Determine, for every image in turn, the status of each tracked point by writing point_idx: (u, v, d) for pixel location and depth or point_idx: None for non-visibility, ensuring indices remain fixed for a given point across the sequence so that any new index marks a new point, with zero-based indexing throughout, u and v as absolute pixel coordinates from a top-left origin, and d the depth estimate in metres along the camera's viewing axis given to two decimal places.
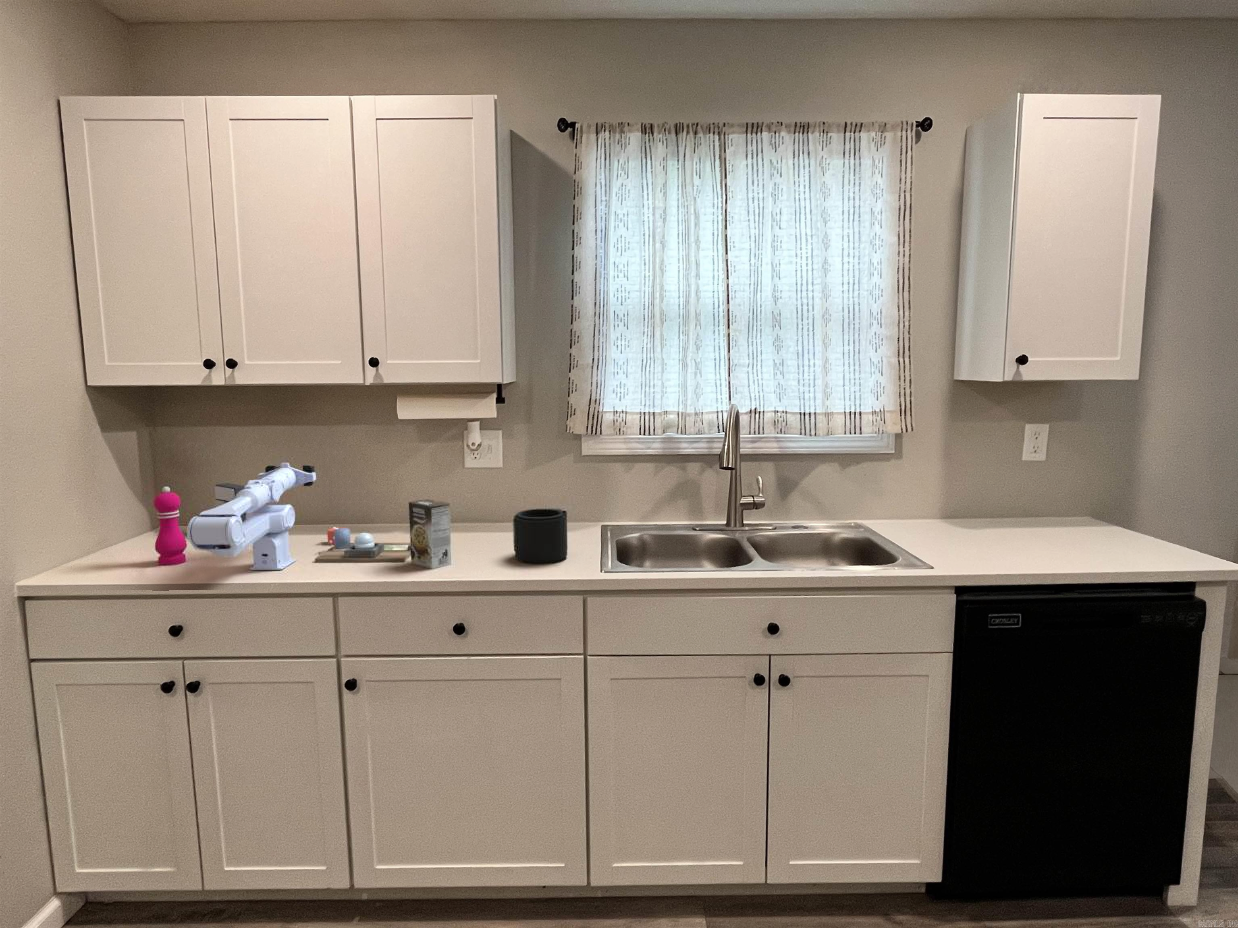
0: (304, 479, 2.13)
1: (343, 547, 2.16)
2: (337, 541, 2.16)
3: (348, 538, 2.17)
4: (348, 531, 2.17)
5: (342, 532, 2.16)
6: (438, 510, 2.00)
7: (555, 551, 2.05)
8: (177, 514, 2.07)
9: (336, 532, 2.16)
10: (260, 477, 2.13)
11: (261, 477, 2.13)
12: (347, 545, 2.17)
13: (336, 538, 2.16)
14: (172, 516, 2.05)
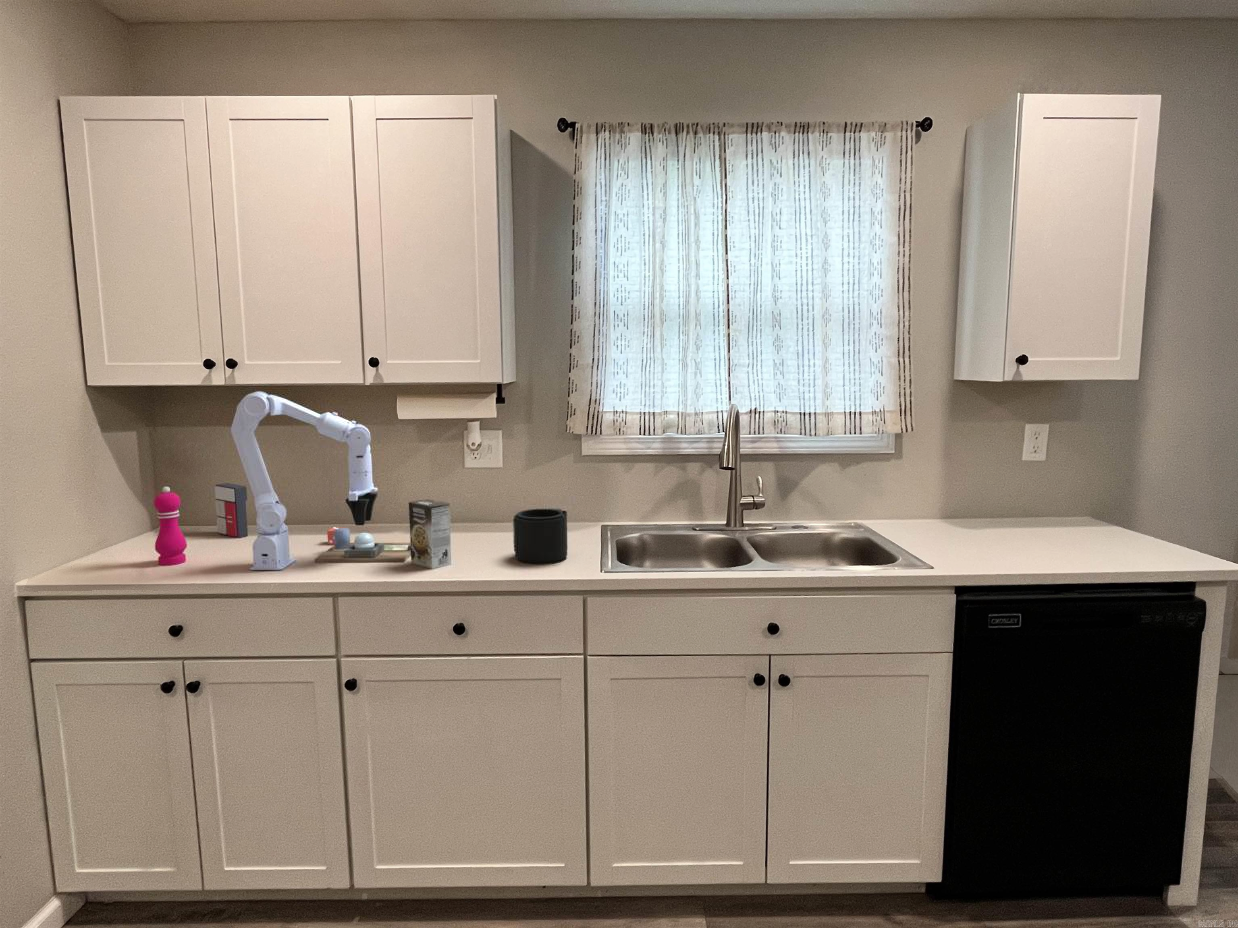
0: (353, 492, 2.05)
1: (343, 547, 2.16)
2: (337, 541, 2.16)
3: (348, 538, 2.17)
4: (348, 531, 2.17)
5: (342, 532, 2.16)
6: (438, 510, 2.00)
7: (555, 551, 2.05)
8: (177, 514, 2.07)
9: (336, 532, 2.16)
10: None
11: None
12: (347, 545, 2.17)
13: (336, 538, 2.16)
14: (172, 516, 2.05)
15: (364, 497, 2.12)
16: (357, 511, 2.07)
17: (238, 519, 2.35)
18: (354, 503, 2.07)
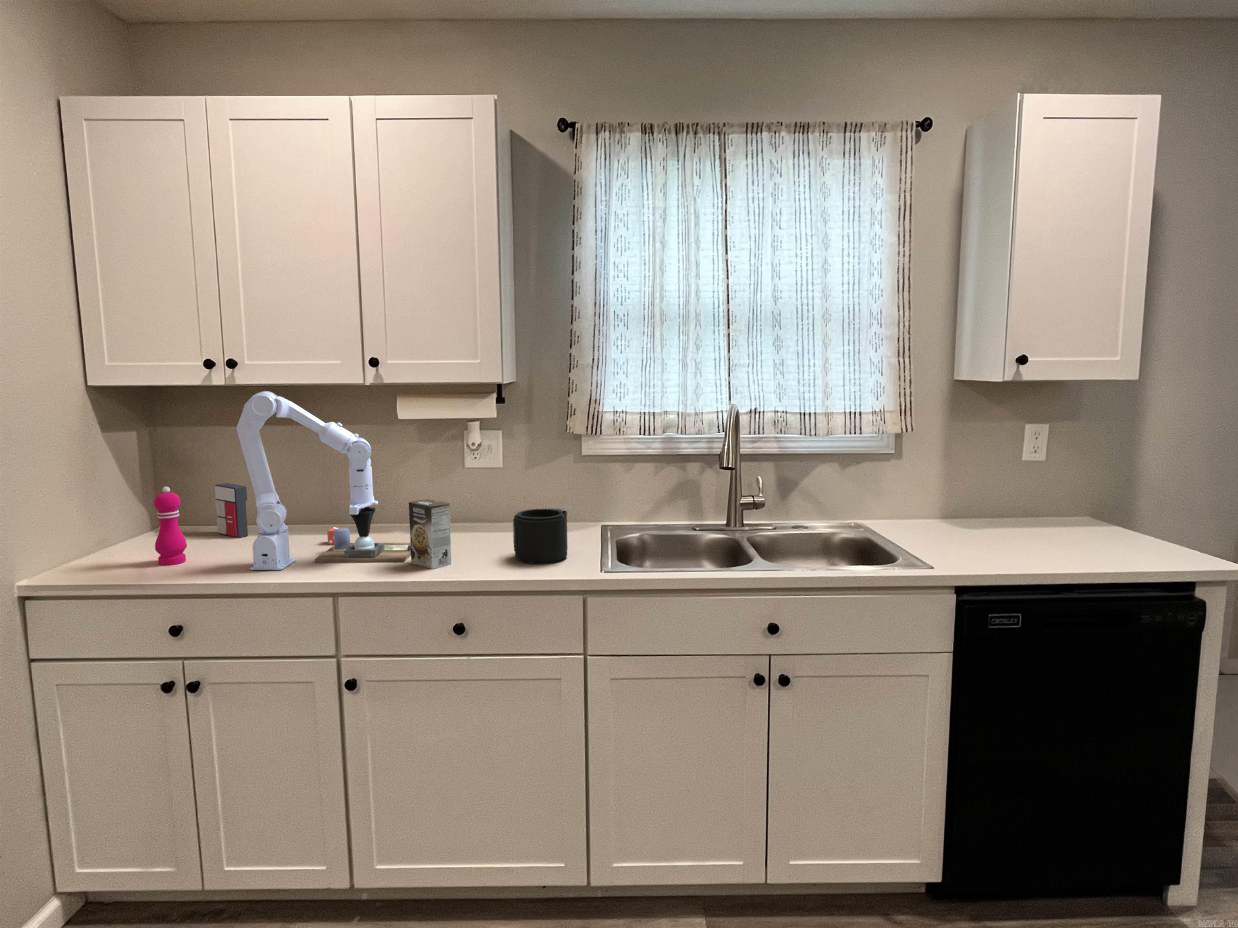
0: (354, 506, 2.05)
1: (343, 547, 2.16)
2: (337, 541, 2.16)
3: (348, 538, 2.17)
4: (348, 531, 2.17)
5: (342, 532, 2.16)
6: (438, 510, 2.00)
7: (555, 551, 2.05)
8: (177, 514, 2.07)
9: (336, 532, 2.16)
10: None
11: None
12: (347, 545, 2.17)
13: (336, 538, 2.16)
14: (172, 516, 2.05)
15: None
16: (361, 522, 2.10)
17: (238, 519, 2.35)
18: (358, 515, 2.10)
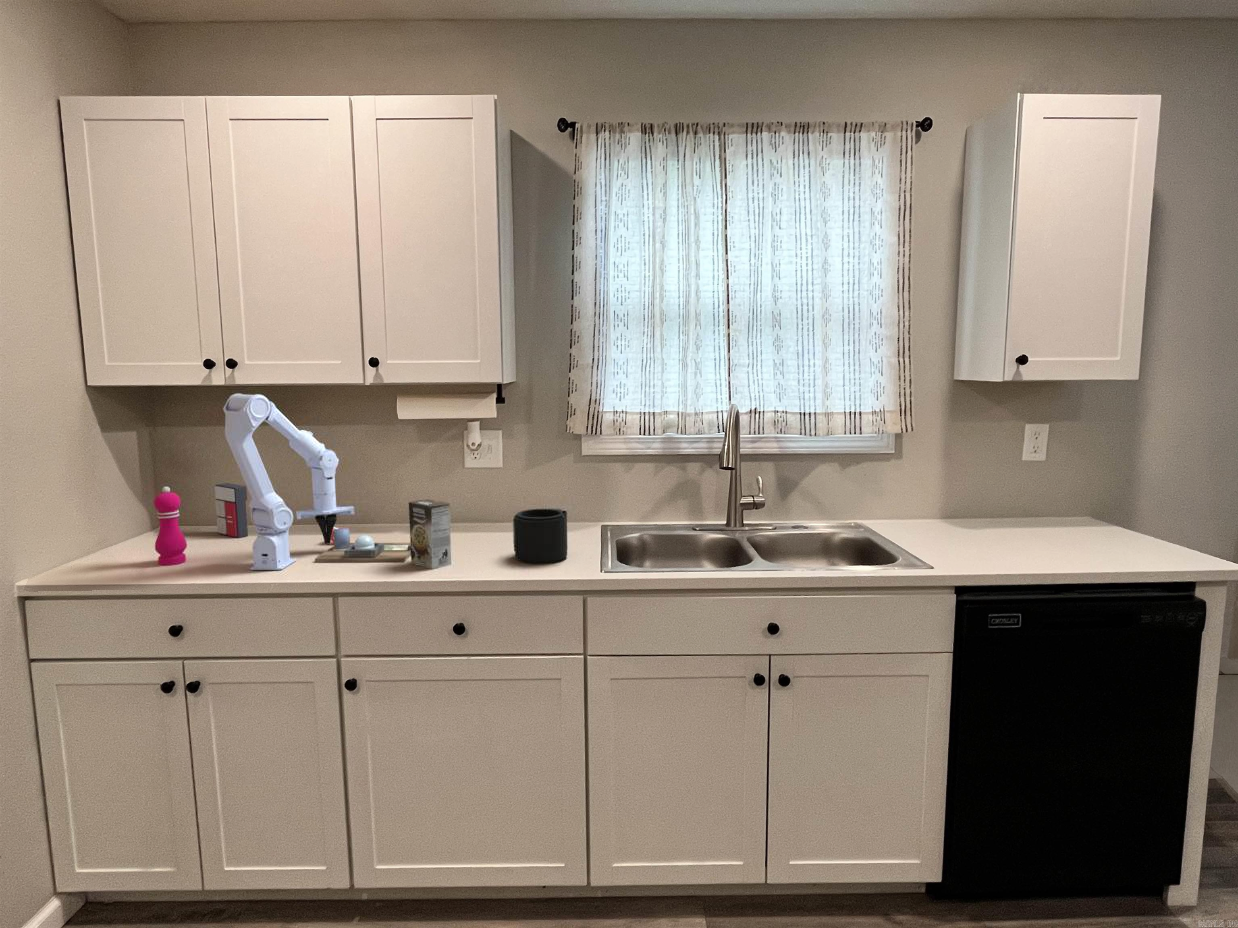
0: (306, 511, 2.15)
1: (343, 547, 2.16)
2: (337, 541, 2.16)
3: (348, 538, 2.17)
4: (348, 531, 2.17)
5: (342, 532, 2.16)
6: (438, 510, 2.00)
7: (555, 551, 2.05)
8: (177, 514, 2.07)
9: (336, 532, 2.16)
10: None
11: (350, 507, 2.20)
12: (347, 545, 2.17)
13: (336, 538, 2.16)
14: (172, 516, 2.05)
15: (326, 519, 2.18)
16: None
17: (238, 519, 2.35)
18: None
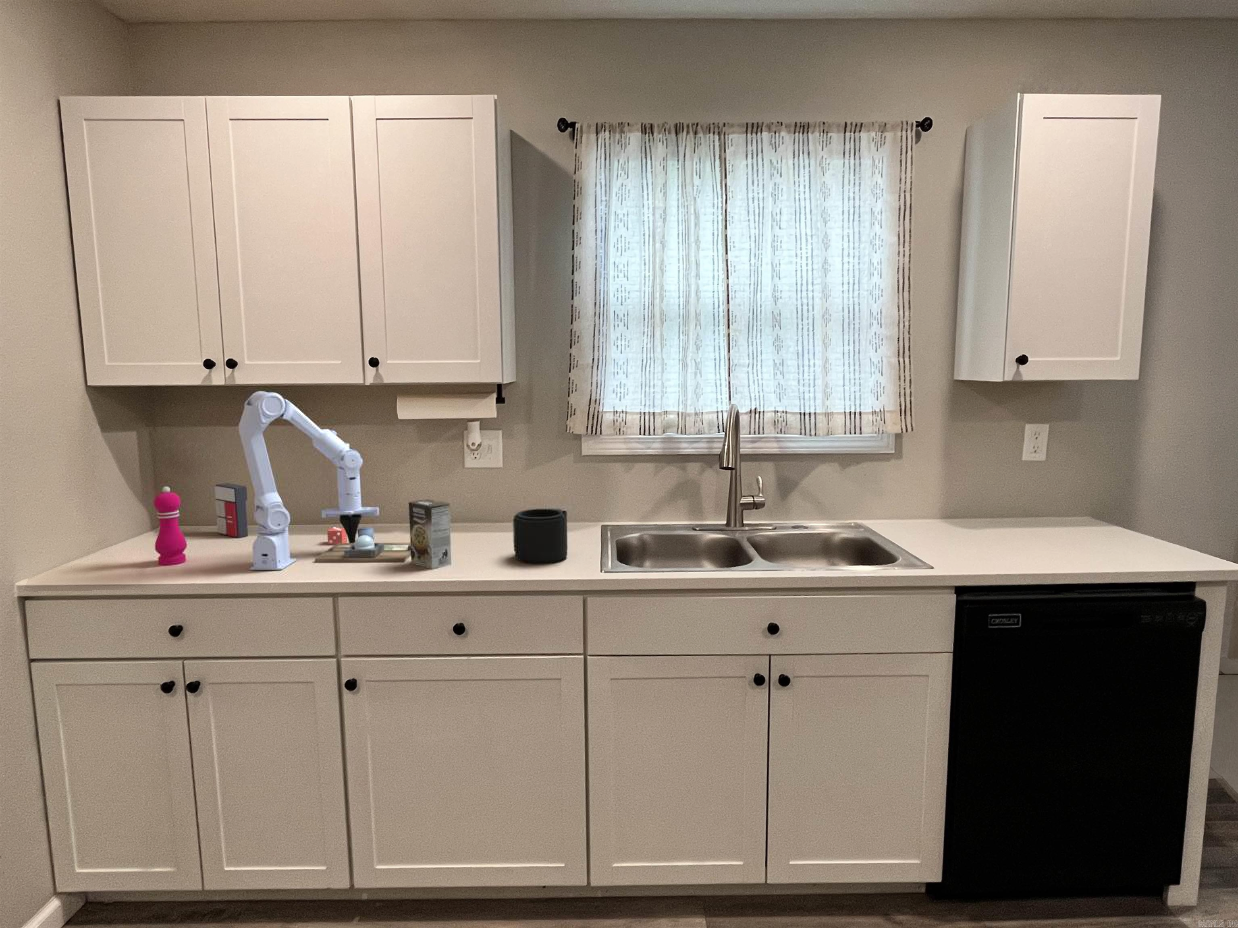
0: (332, 510, 2.17)
1: None
2: None
3: (372, 537, 2.18)
4: (372, 530, 2.18)
5: (367, 531, 2.17)
6: (438, 510, 2.00)
7: (555, 551, 2.05)
8: (177, 514, 2.07)
9: (360, 531, 2.17)
10: (376, 508, 2.18)
11: (375, 508, 2.18)
12: None
13: None
14: (172, 516, 2.05)
15: None
16: None
17: (238, 519, 2.35)
18: None
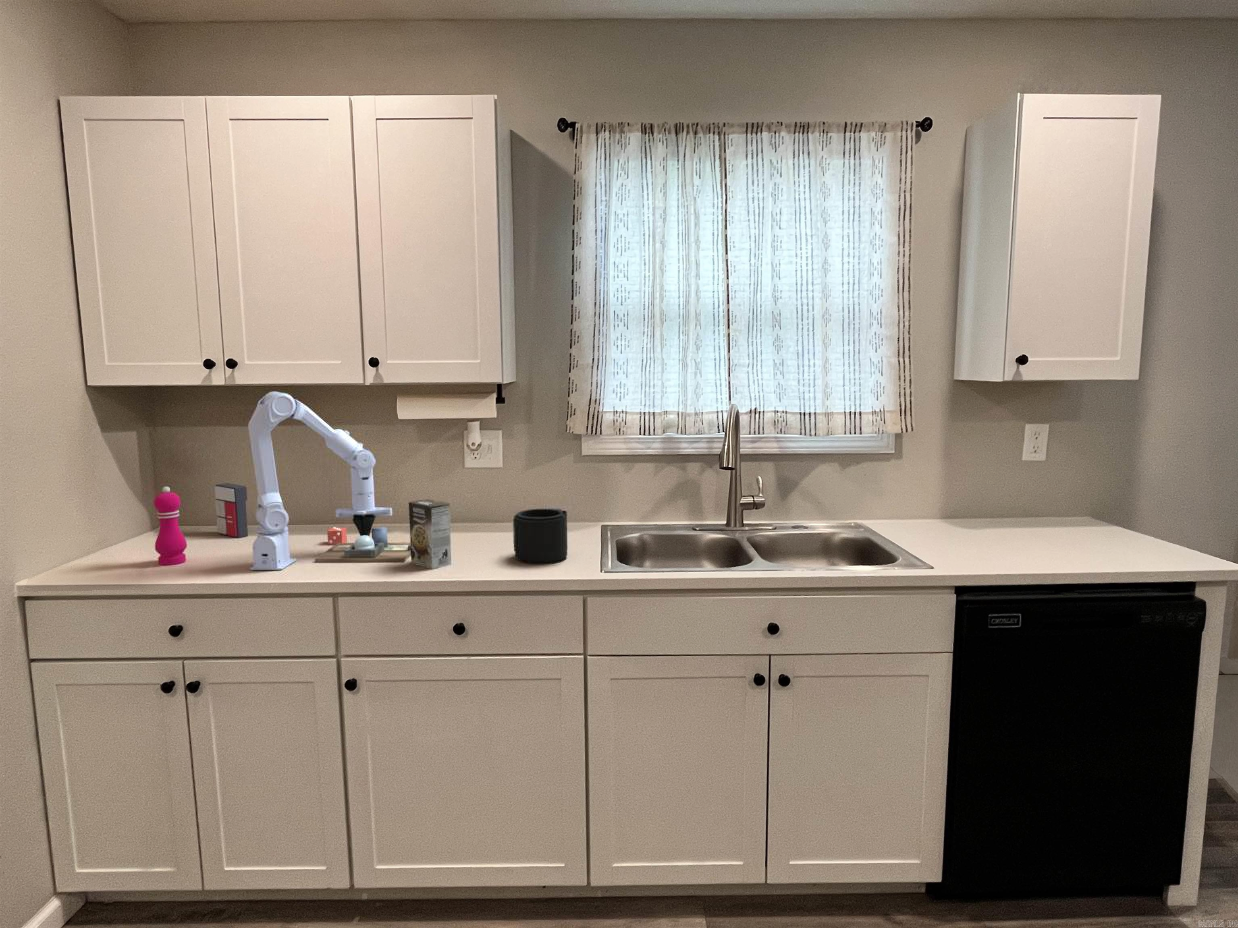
0: None
1: None
2: (375, 540, 2.17)
3: (386, 537, 2.18)
4: (386, 530, 2.18)
5: (380, 531, 2.17)
6: (438, 510, 2.00)
7: (555, 551, 2.05)
8: (177, 514, 2.07)
9: (374, 531, 2.17)
10: (389, 509, 2.17)
11: None
12: (385, 544, 2.18)
13: (374, 537, 2.17)
14: (172, 516, 2.05)
15: None
16: None
17: (238, 519, 2.35)
18: None
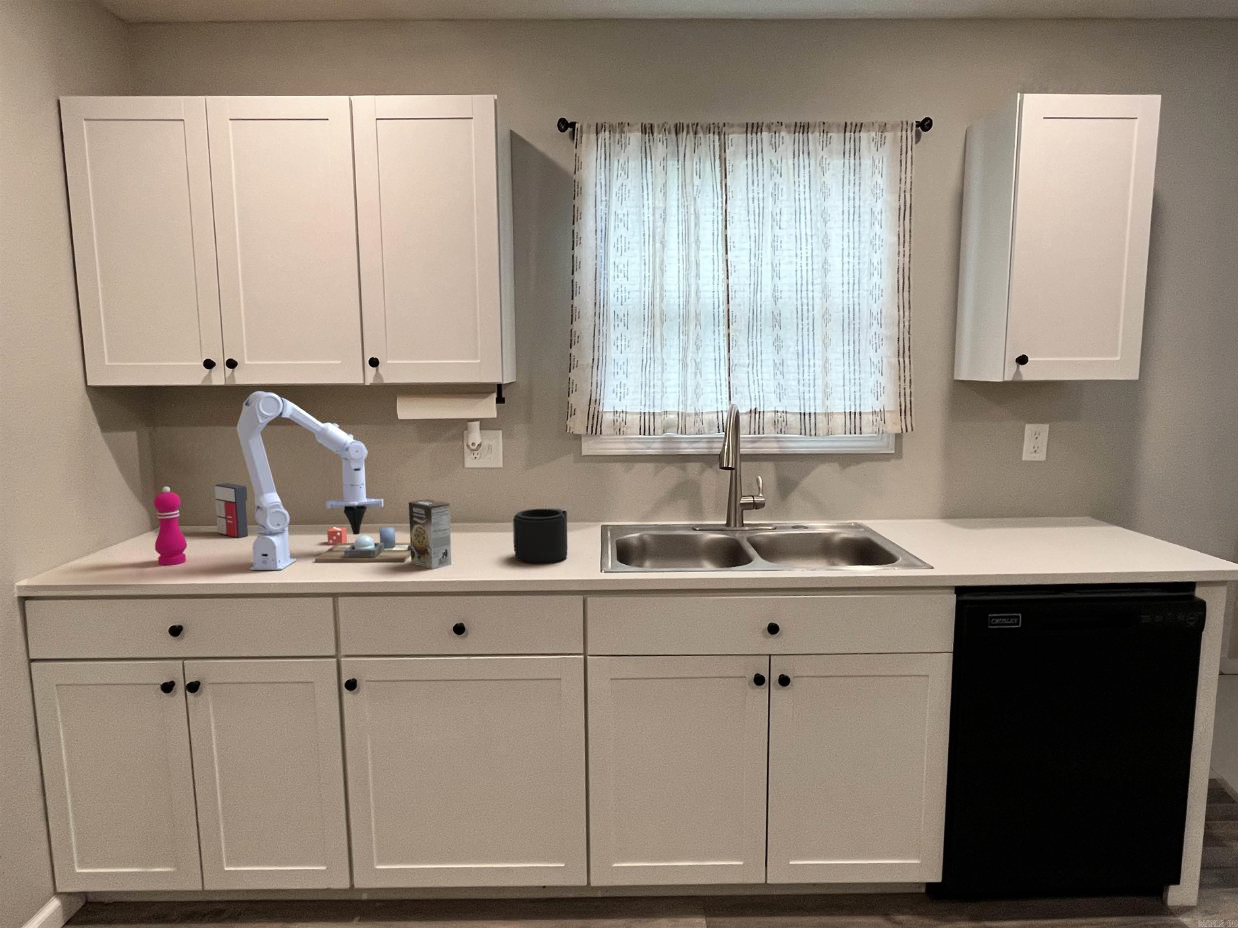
0: None
1: (389, 546, 2.17)
2: (383, 540, 2.17)
3: (394, 537, 2.18)
4: (394, 530, 2.18)
5: (388, 531, 2.17)
6: (438, 510, 2.00)
7: (555, 551, 2.05)
8: (177, 514, 2.07)
9: (382, 531, 2.17)
10: (380, 500, 2.17)
11: None
12: (393, 544, 2.18)
13: (382, 537, 2.17)
14: (172, 516, 2.05)
15: None
16: None
17: (238, 519, 2.35)
18: None
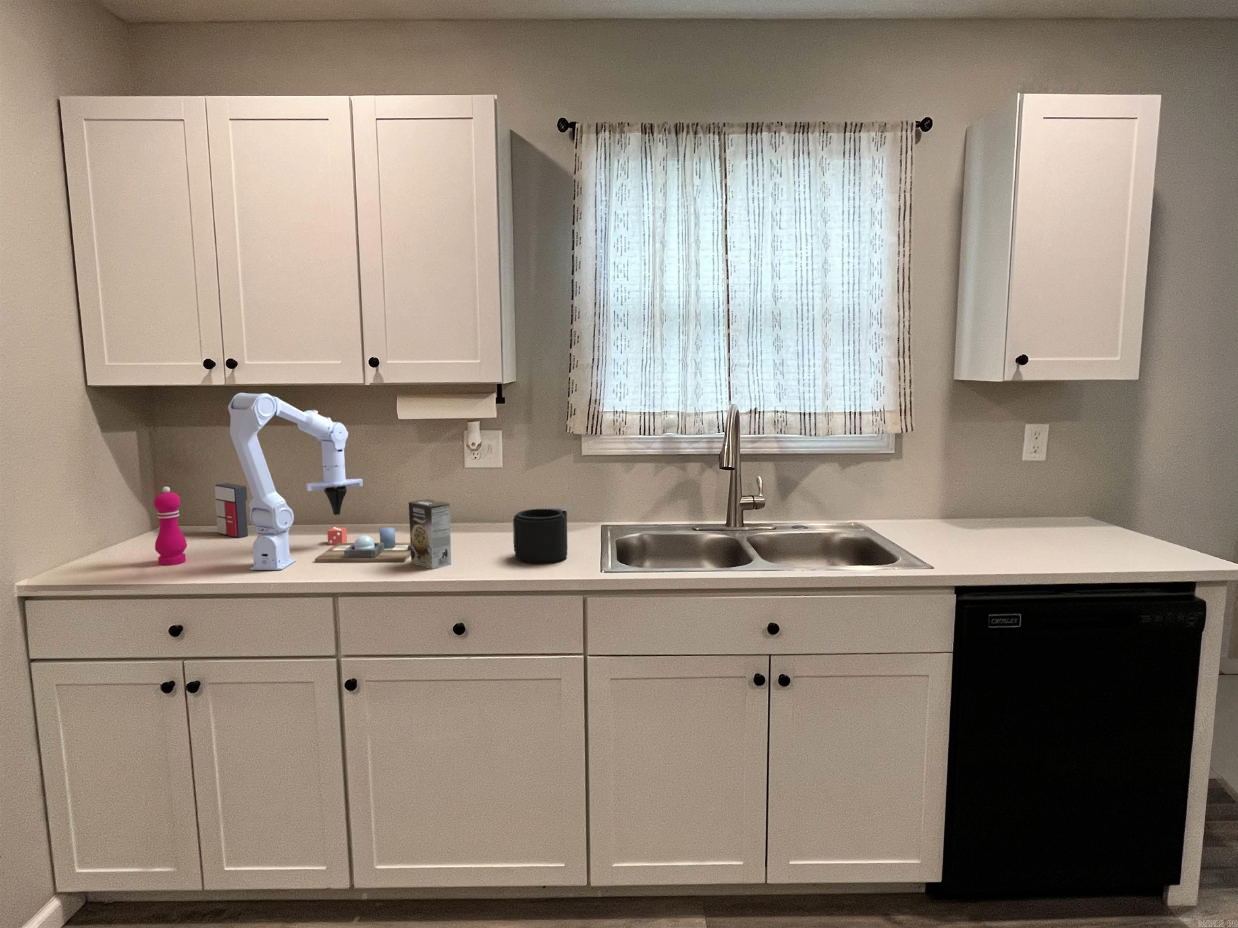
0: None
1: (389, 546, 2.17)
2: (383, 540, 2.17)
3: (394, 537, 2.18)
4: (394, 530, 2.18)
5: (388, 531, 2.17)
6: (438, 510, 2.00)
7: (555, 551, 2.05)
8: (177, 514, 2.07)
9: (382, 531, 2.17)
10: (360, 479, 2.24)
11: (359, 480, 2.24)
12: (393, 544, 2.18)
13: (382, 537, 2.17)
14: (172, 516, 2.05)
15: (336, 491, 2.21)
16: None
17: (238, 519, 2.35)
18: None
